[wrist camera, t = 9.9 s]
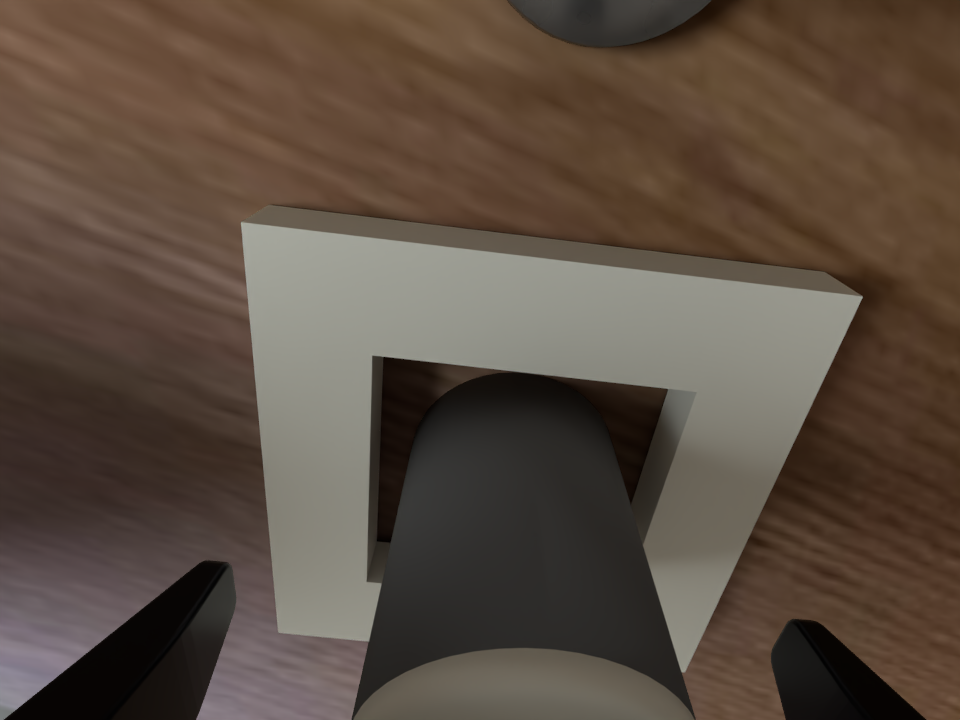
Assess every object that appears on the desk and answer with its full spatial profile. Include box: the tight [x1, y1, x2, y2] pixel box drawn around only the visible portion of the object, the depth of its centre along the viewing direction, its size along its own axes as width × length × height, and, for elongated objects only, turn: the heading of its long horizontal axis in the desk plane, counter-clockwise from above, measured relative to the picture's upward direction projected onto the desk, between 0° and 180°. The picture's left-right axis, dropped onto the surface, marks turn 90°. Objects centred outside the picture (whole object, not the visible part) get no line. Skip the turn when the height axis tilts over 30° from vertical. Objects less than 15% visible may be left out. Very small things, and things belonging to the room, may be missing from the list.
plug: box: [352, 373, 696, 720], centre depth 9 cm, size 4×4×6 cm
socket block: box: [241, 205, 863, 672], centre depth 12 cm, size 10×10×1 cm
